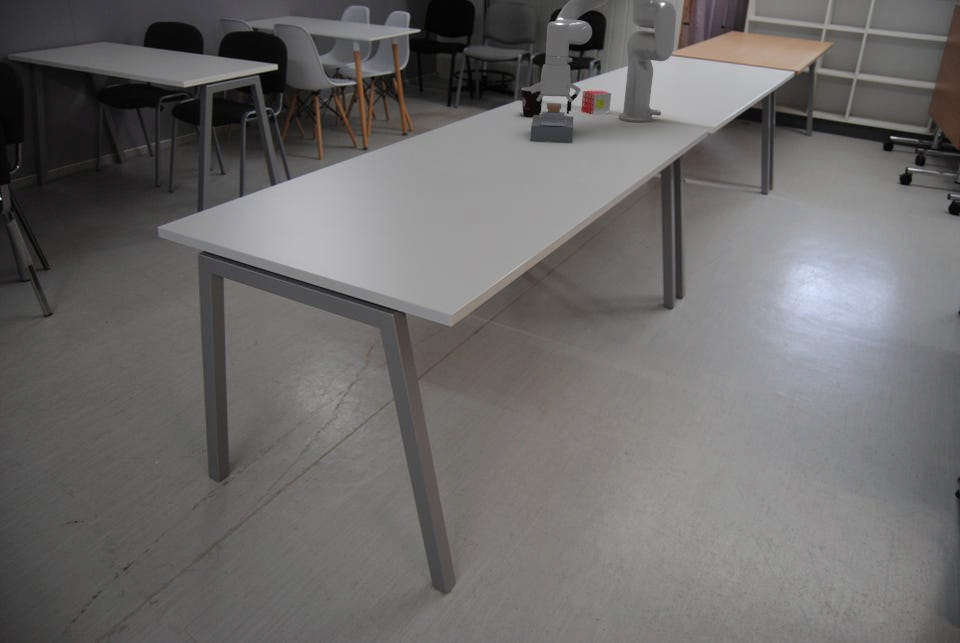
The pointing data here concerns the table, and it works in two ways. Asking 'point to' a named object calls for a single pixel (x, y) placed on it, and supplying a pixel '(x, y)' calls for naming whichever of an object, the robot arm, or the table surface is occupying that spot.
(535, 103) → the dark brown cup
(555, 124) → the shutter
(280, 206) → the table surface
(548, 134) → the socket box
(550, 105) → the plug
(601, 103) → the puzzle cube
